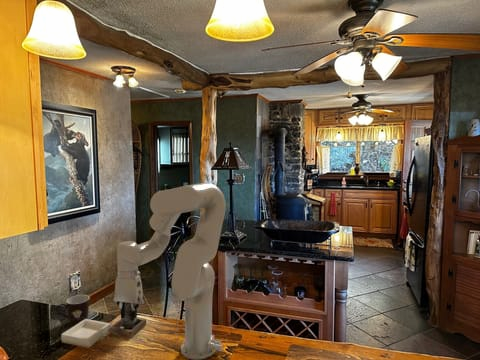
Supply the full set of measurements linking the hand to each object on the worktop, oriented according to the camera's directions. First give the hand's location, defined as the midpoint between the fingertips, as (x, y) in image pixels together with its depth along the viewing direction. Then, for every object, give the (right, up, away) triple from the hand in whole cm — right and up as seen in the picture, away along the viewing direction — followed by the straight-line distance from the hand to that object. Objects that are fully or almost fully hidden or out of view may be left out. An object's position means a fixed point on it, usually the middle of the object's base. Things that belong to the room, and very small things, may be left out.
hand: (128, 317), depth 129 cm
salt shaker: (0, -5, 0) cm, 5 cm away
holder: (0, -5, +1) cm, 5 cm away
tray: (-14, -5, -5) cm, 16 cm away
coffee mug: (-24, -4, +5) cm, 25 cm away
